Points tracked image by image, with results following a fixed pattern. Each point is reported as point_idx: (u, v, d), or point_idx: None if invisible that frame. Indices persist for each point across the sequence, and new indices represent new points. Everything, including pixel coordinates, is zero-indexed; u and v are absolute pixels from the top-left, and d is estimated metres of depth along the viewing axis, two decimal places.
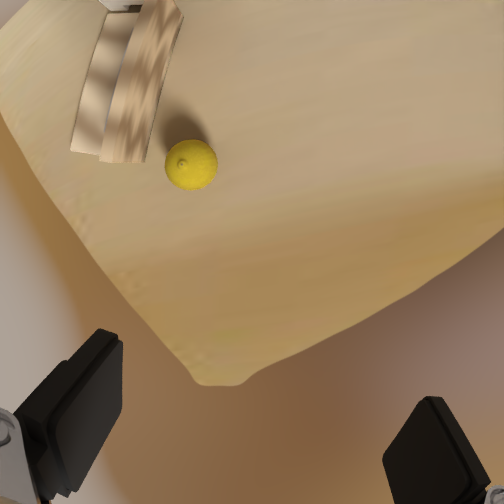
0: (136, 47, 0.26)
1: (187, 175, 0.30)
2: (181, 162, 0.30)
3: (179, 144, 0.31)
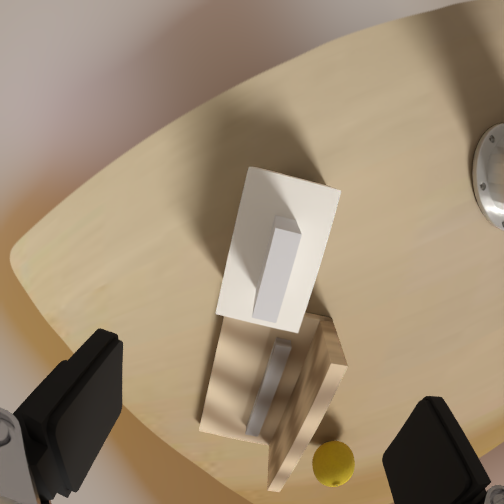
0: (311, 429, 0.27)
1: None
2: (336, 484, 0.31)
3: (332, 467, 0.32)
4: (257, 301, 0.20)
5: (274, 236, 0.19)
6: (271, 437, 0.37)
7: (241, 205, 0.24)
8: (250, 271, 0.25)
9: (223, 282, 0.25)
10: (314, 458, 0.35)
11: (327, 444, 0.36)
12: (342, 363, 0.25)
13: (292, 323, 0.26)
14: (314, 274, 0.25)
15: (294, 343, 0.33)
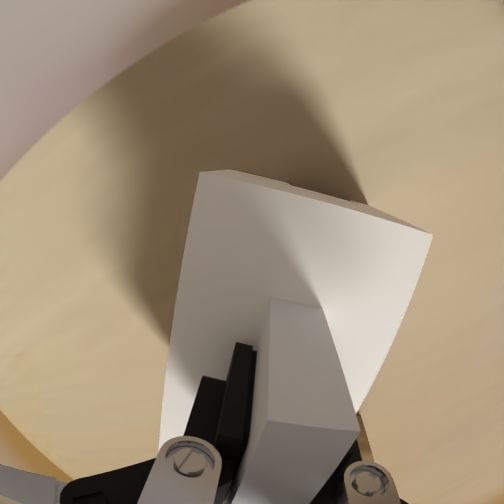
0: None
1: None
2: None
3: None
4: None
5: (263, 440, 0.05)
6: None
7: (185, 272, 0.09)
8: None
9: (163, 418, 0.11)
10: None
11: None
12: None
13: None
14: None
15: None
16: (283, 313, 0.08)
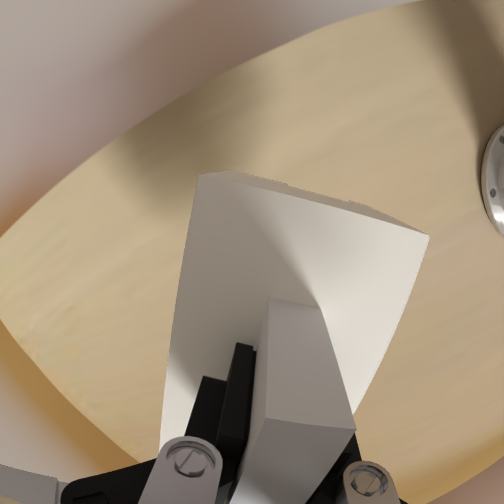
0: None
1: None
2: None
3: None
4: None
5: (261, 438, 0.05)
6: None
7: (185, 273, 0.09)
8: None
9: (164, 417, 0.11)
10: None
11: None
12: None
13: None
14: (351, 408, 0.10)
15: None
16: (281, 313, 0.09)
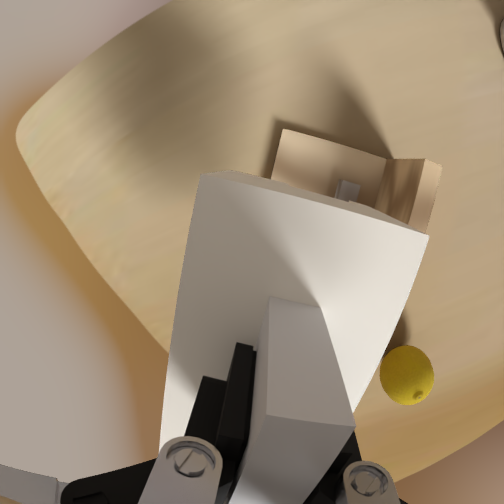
0: None
1: (417, 401, 0.25)
2: (419, 395, 0.25)
3: (412, 370, 0.26)
4: None
5: (262, 435, 0.05)
6: None
7: (186, 272, 0.10)
8: None
9: (164, 415, 0.11)
10: (384, 367, 0.29)
11: (397, 348, 0.29)
12: None
13: None
14: (350, 407, 0.11)
15: (360, 189, 0.27)
16: (282, 312, 0.09)
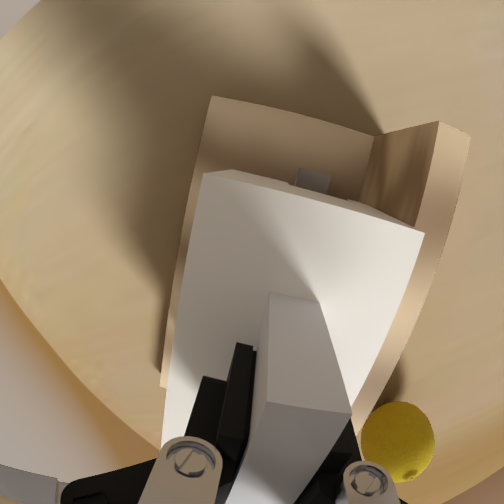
0: (402, 331, 0.11)
1: None
2: (411, 476, 0.15)
3: (405, 444, 0.16)
4: None
5: (263, 421, 0.05)
6: None
7: (189, 268, 0.10)
8: None
9: (167, 409, 0.12)
10: (366, 434, 0.19)
11: (387, 407, 0.20)
12: None
13: None
14: (349, 401, 0.11)
15: (332, 182, 0.18)
16: (282, 306, 0.09)
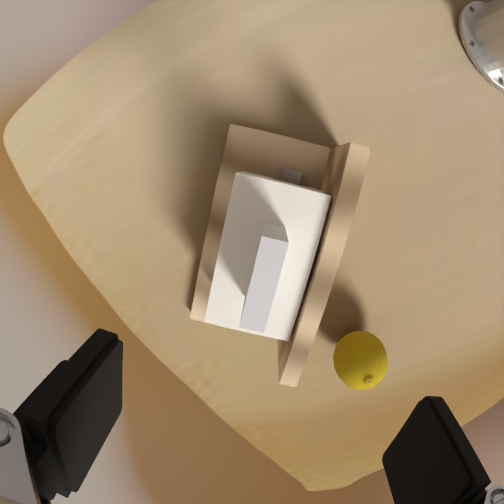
0: (336, 253, 0.23)
1: (369, 386, 0.28)
2: (369, 379, 0.27)
3: (362, 354, 0.28)
4: (244, 311, 0.20)
5: (260, 244, 0.19)
6: None
7: (228, 212, 0.23)
8: (238, 278, 0.25)
9: (211, 290, 0.25)
10: (336, 351, 0.31)
11: (350, 333, 0.32)
12: None
13: (282, 331, 0.26)
14: (304, 281, 0.24)
15: (304, 177, 0.29)
16: (268, 224, 0.22)
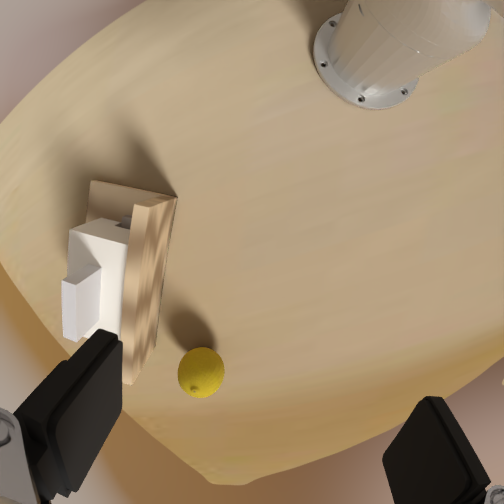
0: (133, 289, 0.29)
1: (199, 395, 0.34)
2: (193, 389, 0.33)
3: (189, 368, 0.34)
4: (63, 326, 0.26)
5: (62, 285, 0.25)
6: None
7: (68, 256, 0.29)
8: None
9: None
10: (180, 362, 0.37)
11: (194, 348, 0.38)
12: (145, 206, 0.27)
13: None
14: (120, 307, 0.30)
15: None
16: (86, 267, 0.29)
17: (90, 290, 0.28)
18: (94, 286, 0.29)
